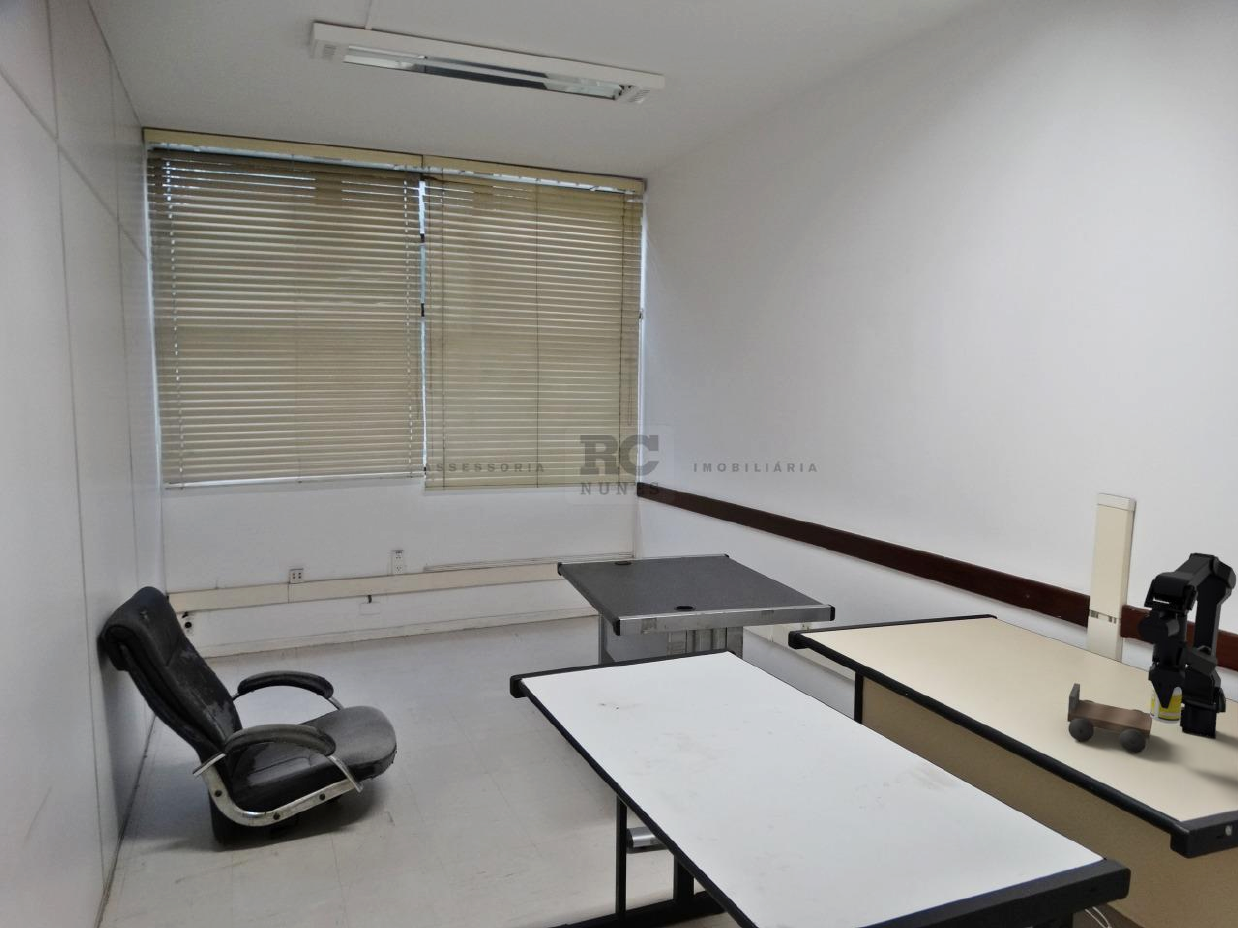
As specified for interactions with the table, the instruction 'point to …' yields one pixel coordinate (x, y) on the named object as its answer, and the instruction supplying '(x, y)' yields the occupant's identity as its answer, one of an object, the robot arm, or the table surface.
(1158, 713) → the supplement bottle
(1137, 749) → the trolley
